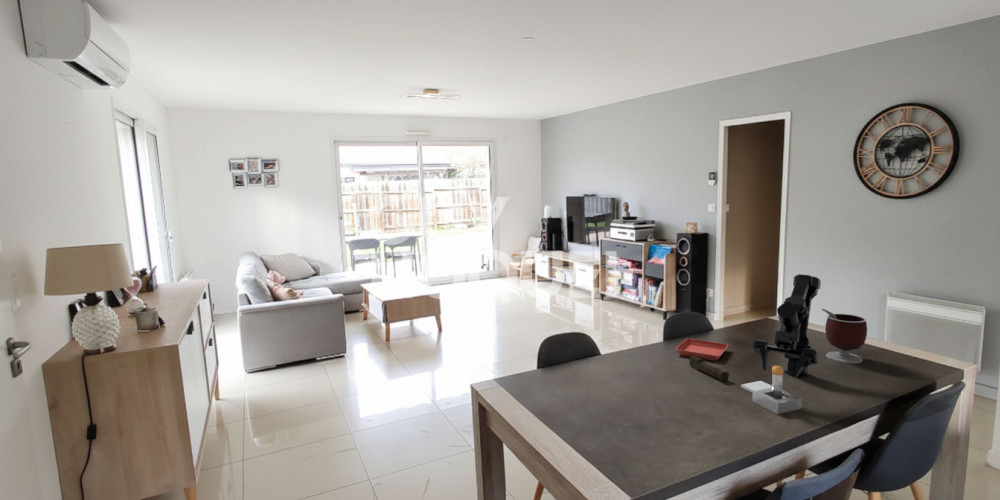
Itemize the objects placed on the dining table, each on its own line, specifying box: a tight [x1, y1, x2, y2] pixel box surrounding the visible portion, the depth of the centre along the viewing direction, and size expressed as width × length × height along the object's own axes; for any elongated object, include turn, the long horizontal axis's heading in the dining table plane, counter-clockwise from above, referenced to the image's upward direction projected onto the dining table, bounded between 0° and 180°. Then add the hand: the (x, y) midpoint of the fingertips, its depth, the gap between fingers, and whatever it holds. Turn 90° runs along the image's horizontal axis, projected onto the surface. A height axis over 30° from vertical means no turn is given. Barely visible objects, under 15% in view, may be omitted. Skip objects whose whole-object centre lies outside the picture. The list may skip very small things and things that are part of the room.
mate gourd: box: [821, 308, 868, 364], centre depth 202 cm, size 16×14×20 cm
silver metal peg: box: [771, 365, 785, 400], centre depth 162 cm, size 4×4×13 cm
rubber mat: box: [740, 380, 772, 394], centre depth 174 cm, size 9×9×1 cm
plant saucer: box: [675, 338, 730, 362], centre depth 214 cm, size 18×18×3 cm
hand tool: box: [688, 356, 730, 383], centre depth 191 cm, size 19×4×5 cm, turn 17°
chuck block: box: [751, 388, 803, 415], centre depth 162 cm, size 10×10×4 cm
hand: (779, 373), depth 163 cm, fingers open, 9 cm apart
